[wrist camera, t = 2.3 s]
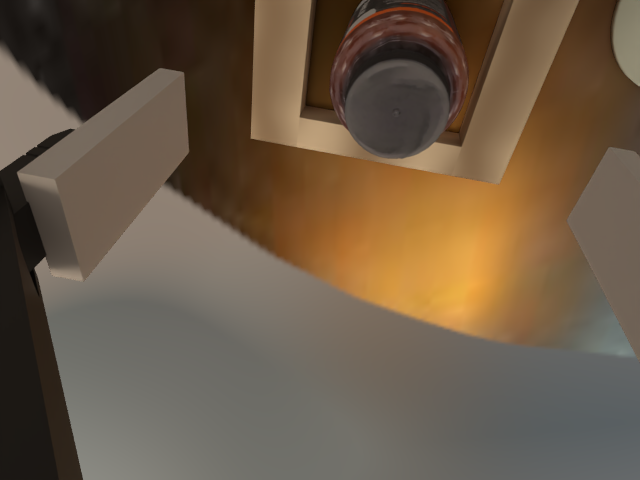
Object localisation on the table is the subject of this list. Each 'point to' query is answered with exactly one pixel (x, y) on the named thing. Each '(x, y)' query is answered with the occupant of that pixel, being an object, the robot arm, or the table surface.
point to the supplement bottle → (399, 75)
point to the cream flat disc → (627, 38)
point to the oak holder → (450, 148)
